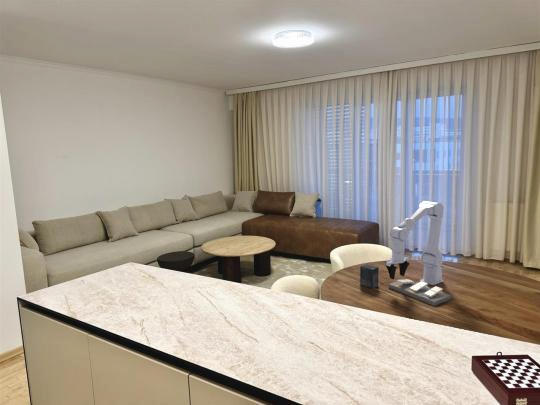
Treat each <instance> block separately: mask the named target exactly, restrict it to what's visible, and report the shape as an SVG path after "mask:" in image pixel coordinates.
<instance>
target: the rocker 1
mask: <svg viewBox="0 0 540 405" xmlns="http://www.w3.org/2000/svg"><path fill="white" fill-rule="evenodd" d="M404 279H405V280H403V279H396V282H399V283H402V284H405V283H414V282H415V281H414V280H411V279H406V278H404Z"/></svg>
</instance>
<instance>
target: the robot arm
mask: <svg viewBox="0 0 540 405" xmlns="http://www.w3.org/2000/svg"><path fill="white" fill-rule="evenodd" d="M444 209H445V208H444V205H443V204H442V203H441V202H434V201H430V200H429V201H428V200H422V202H421V203H419V206H418V208H417V210H416V211H415V212H414V213H413V214H412V215H411V216H410V217H407V218H404V220H403V221H402V222H401V223H400V224H399V225H398V226H396V227H393V228H392V229H391V230H390V233H389V235H390V238H391V242H392V243H391V244H392V246H391V257H390V258H389V260H388V261H386V263H385V267H386V270H387V272H388V275H389V279H390V280H391V279H392V280H394V279H395V276H396V270H397V269H398V267H399V276H401V277H405V274H406V273H407V272H406V271H407V269H408V267H409V266H410V262H409V261H410V260H409V257H408V256H405V244H406V243H405V242H406V241H405V240H406V239H407V238H408V236H409V234H410V232H411V231H412V230H413V229H414V228H415V227H416V223H417V222H418V221H420V220H421V219H422V218H424V216H428V217H429V218H430V222H429V231H428V239H427V245H426V248H424V249H423V250H422V254H421V255H420V262H422V265H423V278H421V279H419V282H421V281H422V282H425V283H428V285H431V286H434V285H435V286H436V285H437V284H440V283H443V282H444V280H443V278H442V276H443V269H442V265H443V262H444V259H443V252H442V251H441V250H440V249H439V246H440V244H439V243H440V238H441V237H440V236H441V230H442V229H441V228H442V222H443V217H444ZM395 265H398V267H397V266H395Z"/></svg>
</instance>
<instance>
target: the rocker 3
mask: <svg viewBox="0 0 540 405" xmlns="http://www.w3.org/2000/svg"><path fill="white" fill-rule="evenodd" d="M431 288H432V289H430V290H429V291H427V292H426V293H424V295H426V296H429V297H433V296H434V295H436V294H437V293H439V292H440V291H441V292H443V289H444V288H442V287H439V286H436V285H435V286H434V287H431Z"/></svg>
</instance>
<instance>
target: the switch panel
mask: <svg viewBox="0 0 540 405" xmlns="http://www.w3.org/2000/svg"><path fill="white" fill-rule="evenodd" d="M405 279H406V278H404V279H402V280H405ZM417 283H418V282H415V281H414V283H405V284H402V283H399V282H397V281H395V282H391V283H389V284H388V289H391V290H392V291H393V290H394V291H397V292H398V293H400V294H404V295H406V296H408V297H411V298H412V299H416V300H419V301H421V302H423V303H426V304H429V305H431V306H433V307H436V306H438V305H440V304H442V303H445V302H447V301H450V300H452V295H451V294H448V293H445V292H443V291H440V292H439V293H437V294H436V295H434V296H433V297H429V296H426V295H424V293H426V292H427V291H429V290H430V289H432V288H433V287H430V286H428V285H427V286H425V287H423V288H422V289H420V290H418V291H417V292H415V291H413V290H410V288H411V287H412V286H414V285H416V284H417Z"/></svg>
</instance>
